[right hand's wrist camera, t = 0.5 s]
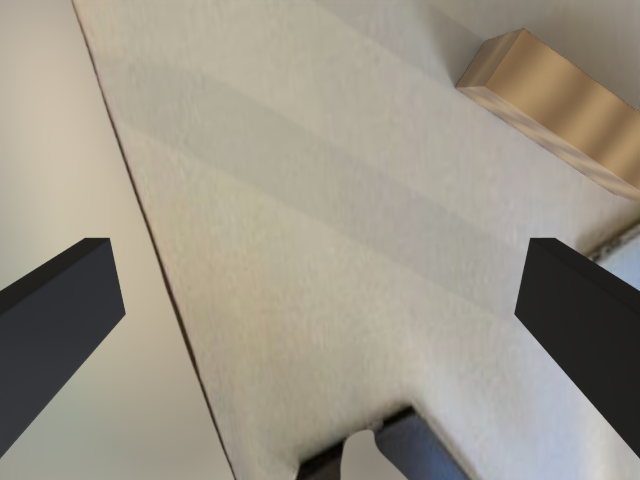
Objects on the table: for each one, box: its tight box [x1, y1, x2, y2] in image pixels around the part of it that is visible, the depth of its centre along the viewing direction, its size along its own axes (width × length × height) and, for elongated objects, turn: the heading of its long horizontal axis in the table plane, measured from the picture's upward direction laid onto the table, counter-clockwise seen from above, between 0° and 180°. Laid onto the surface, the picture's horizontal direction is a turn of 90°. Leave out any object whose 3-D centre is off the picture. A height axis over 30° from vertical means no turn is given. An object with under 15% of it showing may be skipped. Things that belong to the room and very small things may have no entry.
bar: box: [455, 28, 640, 203], centre depth 40 cm, size 24×6×8 cm, turn 60°
